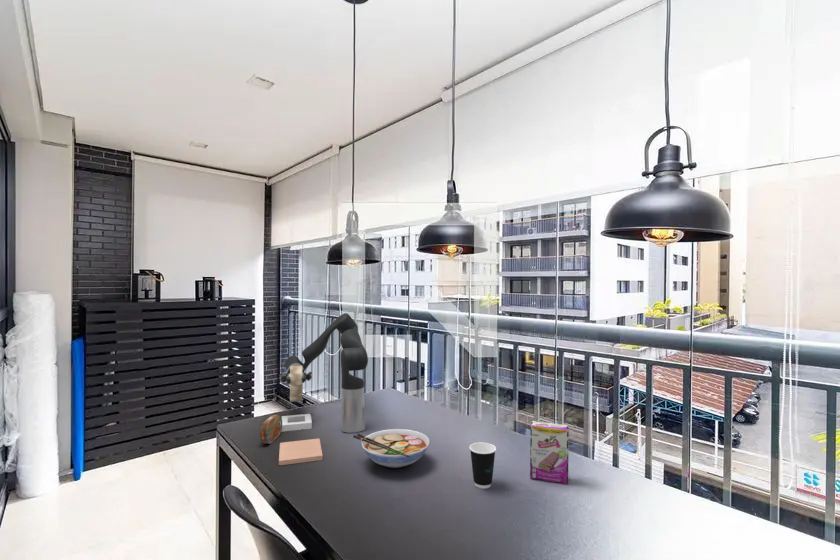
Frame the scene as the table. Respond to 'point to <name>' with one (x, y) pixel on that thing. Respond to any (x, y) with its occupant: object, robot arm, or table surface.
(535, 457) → the candy bar box
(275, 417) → the tin
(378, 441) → the ramen bowl
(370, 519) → the table surface
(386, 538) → the table surface
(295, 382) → the maple plug
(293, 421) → the pocket block
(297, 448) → the terracotta tile
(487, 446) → the dixie cup
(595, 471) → the table surface
